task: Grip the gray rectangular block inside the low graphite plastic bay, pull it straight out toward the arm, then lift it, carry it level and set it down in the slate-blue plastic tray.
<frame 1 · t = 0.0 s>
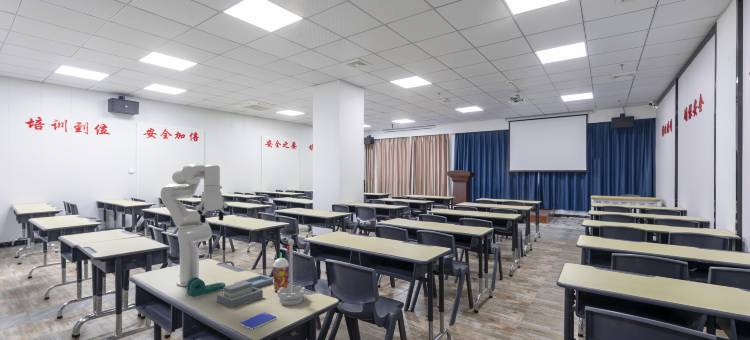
hand: (212, 221, 183), 37 cm above the table, tool pointing down, fingers open, 9 cm apart
bay: (238, 298, 174), on the table
gray rectangular block: (238, 299, 174), resting in bay
bracket: (207, 291, 185), on the table
flag stand: (291, 300, 171), on the table
hard drive: (258, 323, 148), on the table
tray: (254, 284, 194), on the table
smoothie: (281, 290, 185), on the table
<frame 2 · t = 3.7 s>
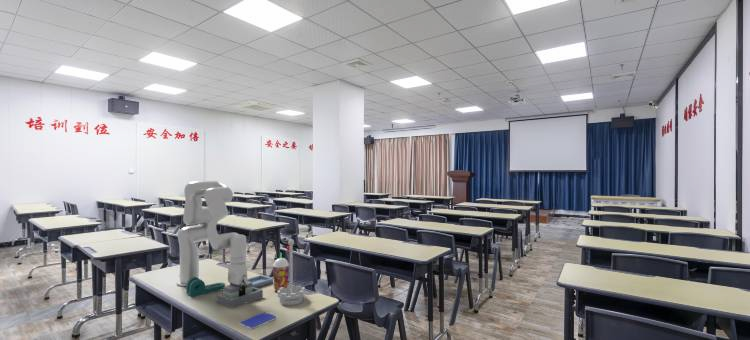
hand: (238, 296, 174), 1 cm above the table, tool pointing down, fingers closed on gray rectangular block, 6 cm apart
gray rectangular block: (238, 298, 174), resting in bay, touching gripper
everything else where it was.
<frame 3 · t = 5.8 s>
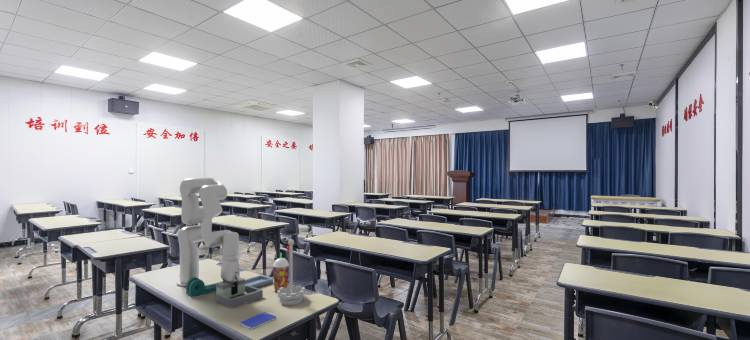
hand: (230, 292, 177), 2 cm above the table, tool pointing down, fingers closed on gray rectangular block, 6 cm apart
gray rectangular block: (230, 294, 177), point 1 cm above the table, touching gripper
everything else where it was.
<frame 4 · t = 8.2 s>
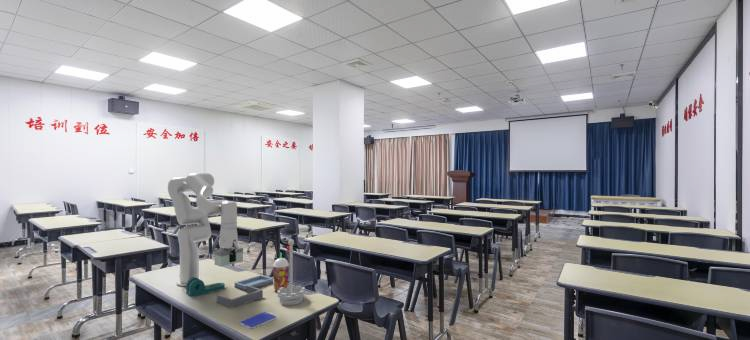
hand: (229, 260, 179), 17 cm above the table, tool pointing down, fingers closed on gray rectangular block, 6 cm apart
gray rectangular block: (229, 262, 180), point 16 cm above the table, touching gripper
everything else where it was.
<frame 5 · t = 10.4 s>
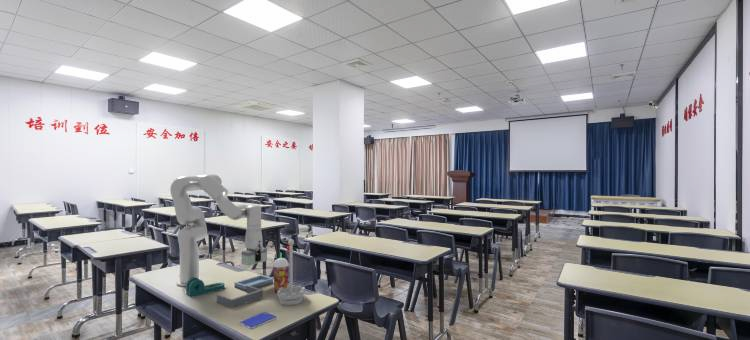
hand: (254, 260, 194), 14 cm above the table, tool pointing down, fingers closed on gray rectangular block, 6 cm apart
gray rectangular block: (254, 262, 194), point 12 cm above the table, touching gripper
everything else where it was.
when the fingers open (3 cm above the table, at t = 12.7 s): gray rectangular block stays where it is, resting on tray.
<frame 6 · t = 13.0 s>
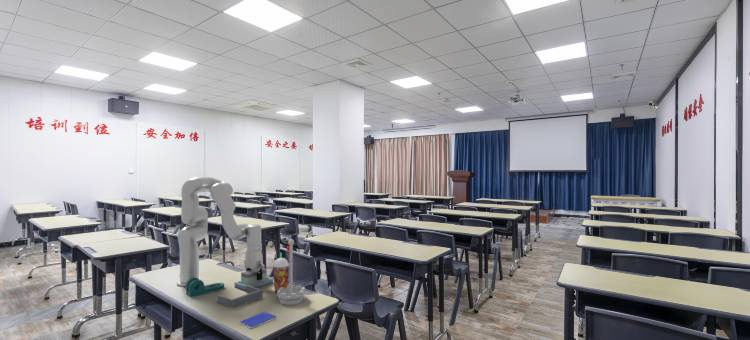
hand: (254, 278, 194), 4 cm above the table, tool pointing down, fingers open, 9 cm apart
gray rectangular block: (254, 283, 194), point 1 cm above the table, touching tray
everything else where it was.
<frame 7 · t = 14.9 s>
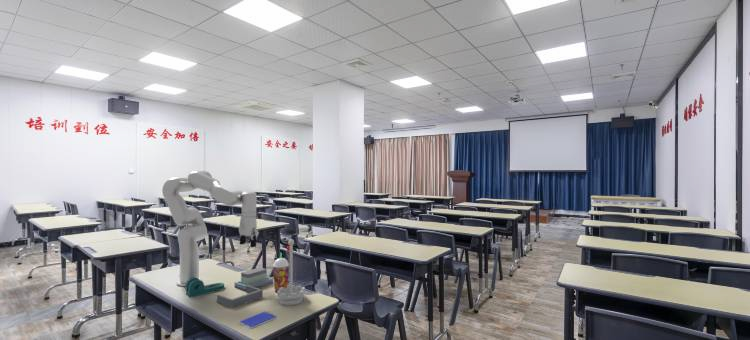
hand: (247, 245, 194), 22 cm above the table, tool pointing down, fingers open, 9 cm apart
nothing on the table moved.
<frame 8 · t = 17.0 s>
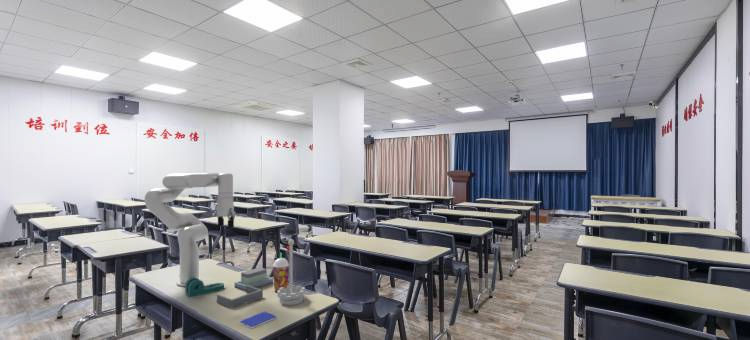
hand: (225, 226, 194), 32 cm above the table, tool pointing down, fingers open, 9 cm apart
at the end: gray rectangular block 0.1 cm off-centre on the tray, point 0.8 cm above the tray's base; gray rectangular block tilted 0°; the gripper is holding nothing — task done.
